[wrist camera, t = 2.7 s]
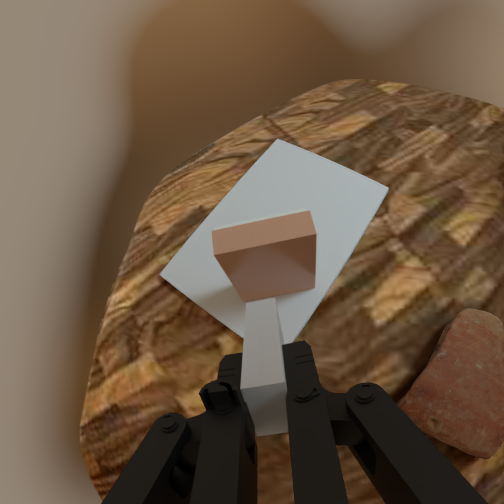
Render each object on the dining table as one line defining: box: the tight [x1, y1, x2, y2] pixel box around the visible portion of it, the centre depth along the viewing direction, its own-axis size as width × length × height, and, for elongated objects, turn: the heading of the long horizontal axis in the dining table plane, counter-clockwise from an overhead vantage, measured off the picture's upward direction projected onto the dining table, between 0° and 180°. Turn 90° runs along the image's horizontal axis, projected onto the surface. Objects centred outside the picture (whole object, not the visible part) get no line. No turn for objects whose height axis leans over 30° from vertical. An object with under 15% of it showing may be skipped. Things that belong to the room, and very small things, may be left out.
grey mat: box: [159, 139, 389, 344], centre depth 39 cm, size 26×18×1 cm
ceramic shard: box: [397, 308, 504, 459], centre depth 25 cm, size 15×6×15 cm
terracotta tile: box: [212, 208, 317, 302], centre depth 30 cm, size 2×8×12 cm, turn 98°
